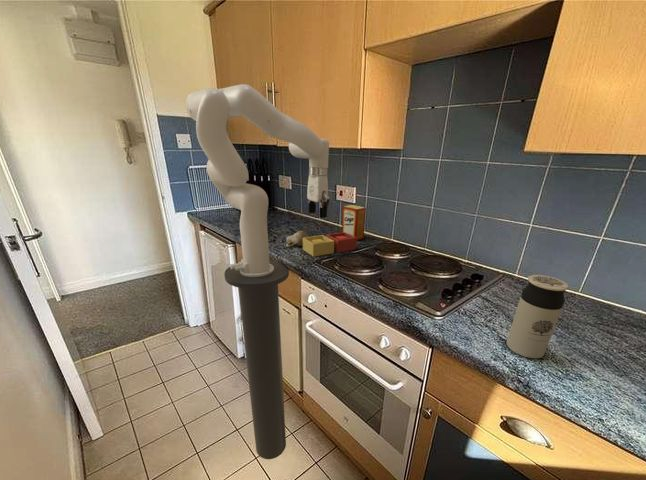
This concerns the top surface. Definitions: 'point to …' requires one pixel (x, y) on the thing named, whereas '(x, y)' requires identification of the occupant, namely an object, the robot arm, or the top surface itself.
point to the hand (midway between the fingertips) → (317, 215)
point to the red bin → (343, 242)
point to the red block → (340, 237)
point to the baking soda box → (354, 220)
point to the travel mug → (536, 316)
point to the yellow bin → (318, 246)
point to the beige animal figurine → (296, 239)
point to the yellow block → (317, 241)
